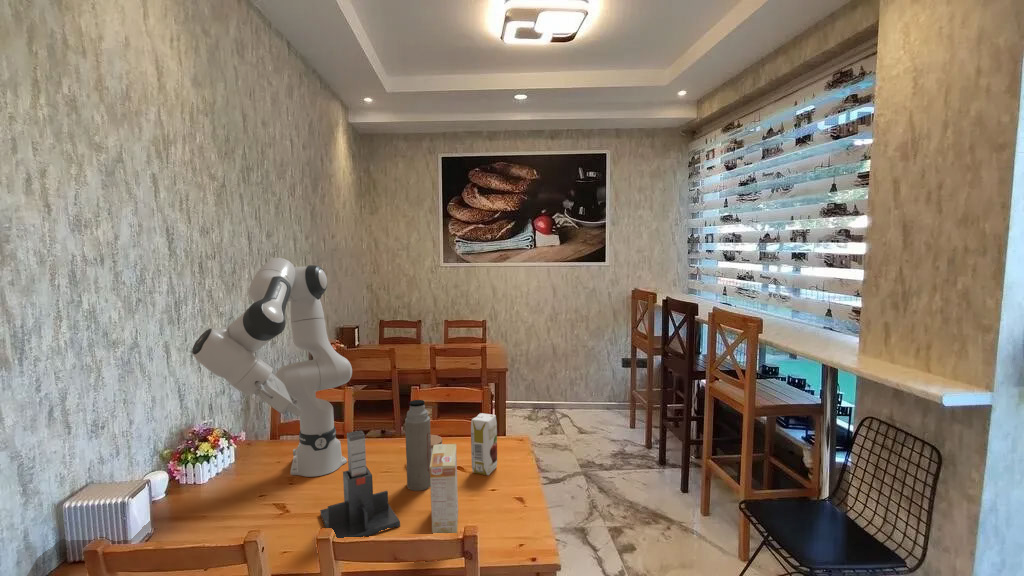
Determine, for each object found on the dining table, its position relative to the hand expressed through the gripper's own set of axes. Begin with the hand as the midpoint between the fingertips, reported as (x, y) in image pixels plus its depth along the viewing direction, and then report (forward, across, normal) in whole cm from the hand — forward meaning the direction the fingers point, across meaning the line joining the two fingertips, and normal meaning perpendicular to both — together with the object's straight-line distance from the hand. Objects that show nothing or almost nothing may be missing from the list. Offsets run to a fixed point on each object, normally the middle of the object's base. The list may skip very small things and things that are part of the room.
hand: (298, 408), depth 131 cm
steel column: (+33, -1, +13) cm, 36 cm away
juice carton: (+67, +8, -17) cm, 69 cm away
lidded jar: (+57, +26, -7) cm, 63 cm away
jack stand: (+35, -1, +15) cm, 38 cm away
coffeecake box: (+50, -14, 0) cm, 52 cm away
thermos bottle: (+50, +10, -1) cm, 51 cm away
